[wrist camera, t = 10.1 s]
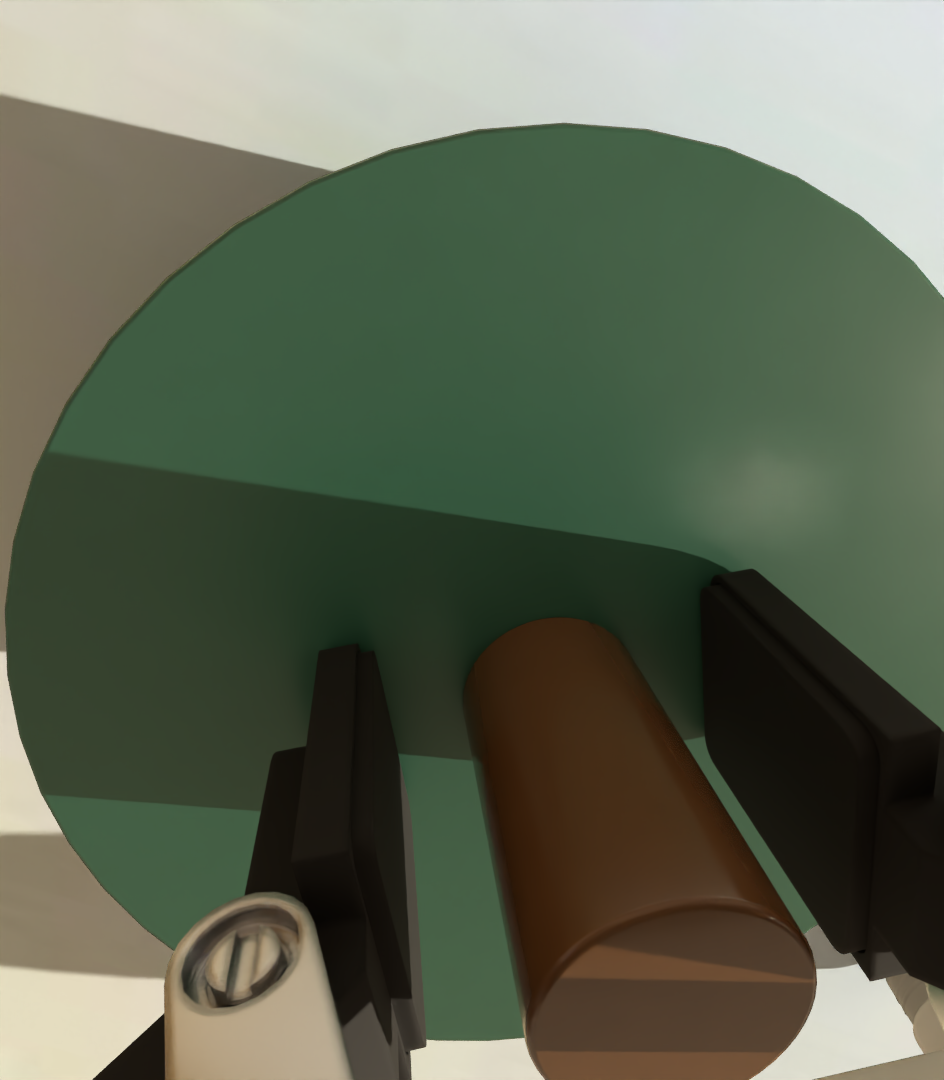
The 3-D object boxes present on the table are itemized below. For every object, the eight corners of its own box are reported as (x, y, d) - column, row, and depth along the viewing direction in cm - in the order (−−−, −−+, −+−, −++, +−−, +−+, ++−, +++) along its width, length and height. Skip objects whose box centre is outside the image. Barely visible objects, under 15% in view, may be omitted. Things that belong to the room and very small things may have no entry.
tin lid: (-148, 235, 9) (-1076, 228, 3) (1027, 55, 10) (1949, -204, 4) (204, 1051, 15) (93, 1576, 9) (929, 894, 15) (1256, 1279, 10)
